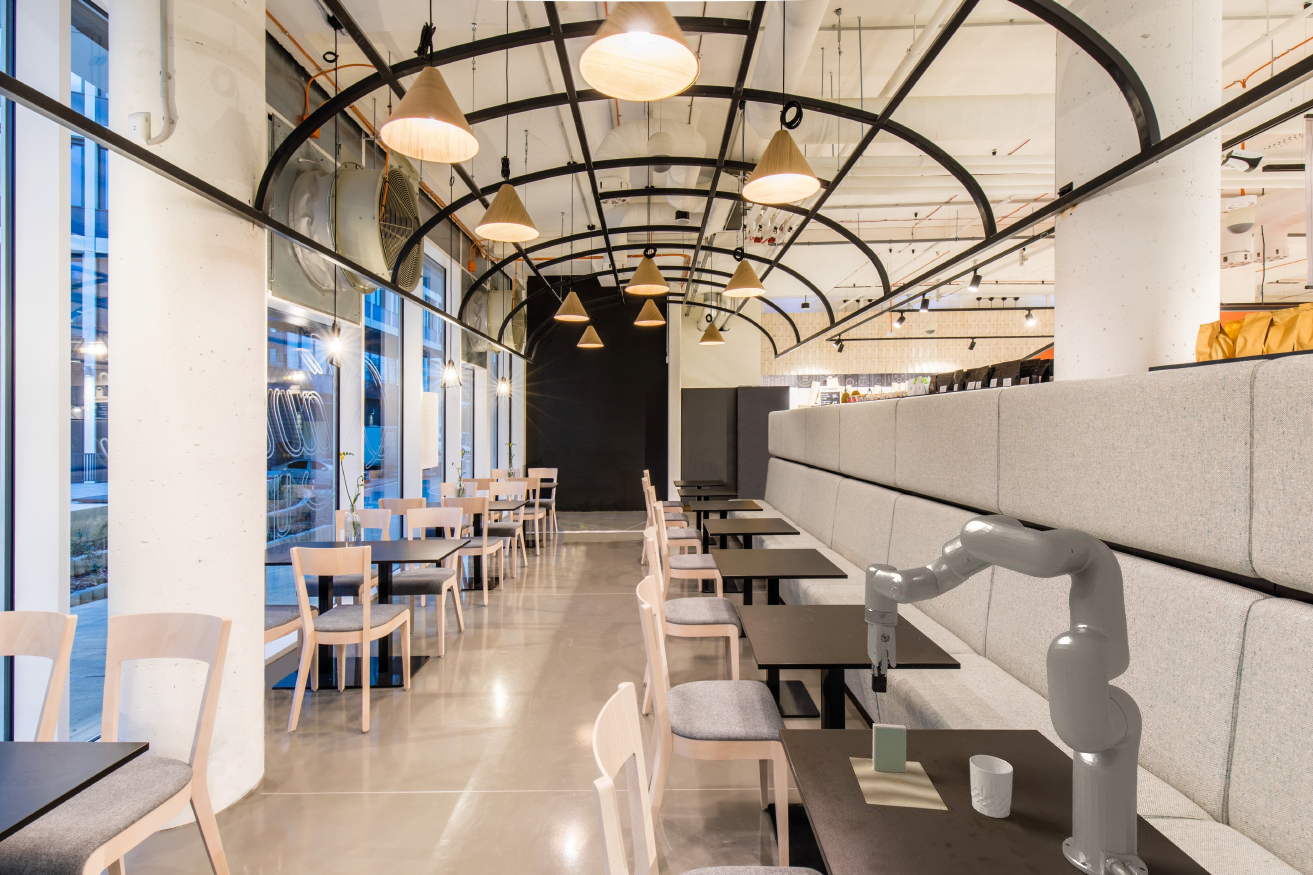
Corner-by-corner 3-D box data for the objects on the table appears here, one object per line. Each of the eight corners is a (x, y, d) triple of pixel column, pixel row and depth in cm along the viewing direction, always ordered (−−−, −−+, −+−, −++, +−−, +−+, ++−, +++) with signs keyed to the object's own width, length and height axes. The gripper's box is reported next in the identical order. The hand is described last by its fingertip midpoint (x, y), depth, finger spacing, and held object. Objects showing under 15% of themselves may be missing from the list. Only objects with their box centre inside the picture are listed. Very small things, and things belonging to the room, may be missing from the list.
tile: (906, 773, 144) (906, 728, 144) (874, 770, 145) (874, 726, 145) (904, 769, 146) (904, 725, 146) (872, 766, 147) (872, 723, 147)
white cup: (1018, 826, 126) (1018, 775, 126) (975, 821, 127) (975, 770, 127) (1005, 805, 133) (1005, 756, 134) (964, 800, 135) (965, 752, 135)
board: (947, 814, 129) (948, 809, 129) (866, 808, 131) (866, 803, 131) (919, 766, 149) (919, 762, 149) (849, 761, 151) (849, 757, 151)
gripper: (905, 625, 147) (903, 704, 147) (889, 608, 162) (887, 680, 162) (871, 623, 148) (869, 702, 148) (859, 607, 163) (857, 678, 163)
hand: (879, 691), depth 155 cm, fingers closed
